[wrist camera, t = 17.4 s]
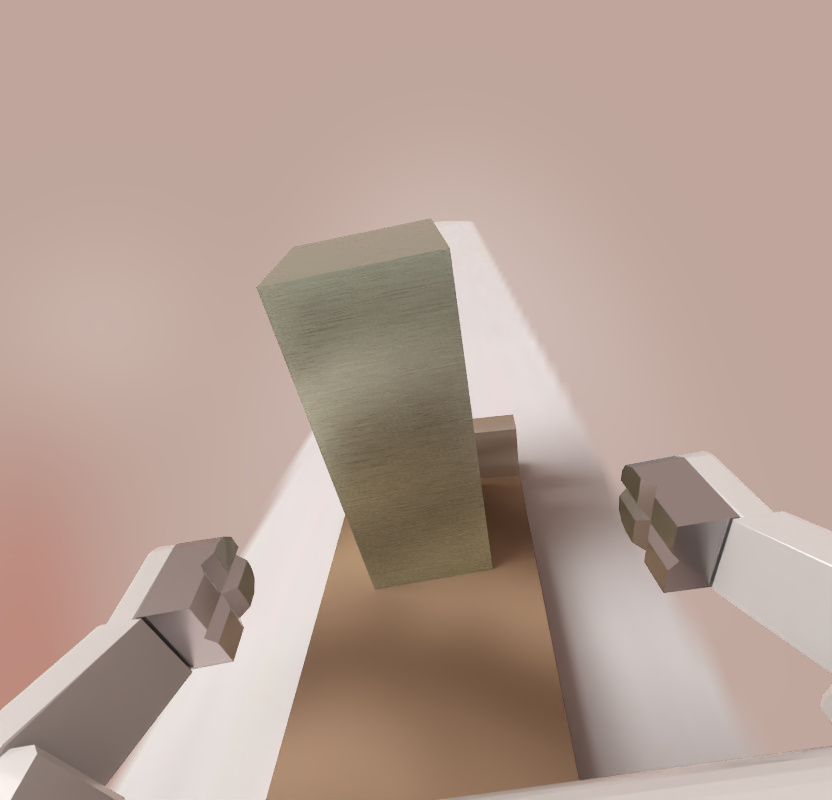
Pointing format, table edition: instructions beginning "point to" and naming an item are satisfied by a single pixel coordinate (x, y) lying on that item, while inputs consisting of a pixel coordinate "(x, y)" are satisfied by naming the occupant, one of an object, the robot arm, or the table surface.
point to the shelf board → (432, 671)
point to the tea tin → (387, 395)
